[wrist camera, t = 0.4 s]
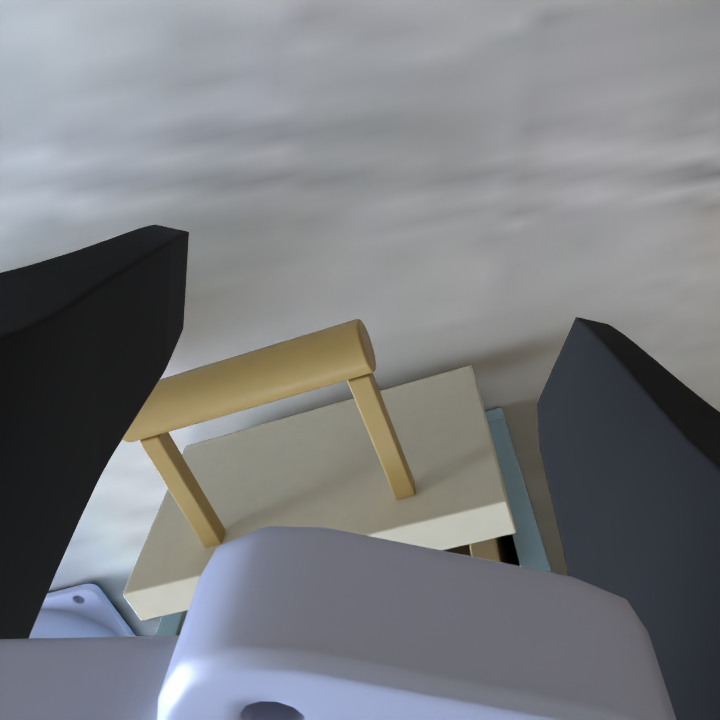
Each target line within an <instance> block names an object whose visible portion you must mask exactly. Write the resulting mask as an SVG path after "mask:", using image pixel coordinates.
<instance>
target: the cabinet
mask: <svg viewBox="0 0 720 720" xmlns="http://www.w3.org/2000/svg"><path fill="white" fill-rule="evenodd" d="M485 414H486V418H487V422H488V426H489V429H490V433H491V437H492V441H493V445H494V448H495V452H496V456H497V460H498V463H499V467H500V471H501V475H502V479H503V482H504V486H505V490H506V494H507V498H508V501H509V505H510V509H511V513H512V516H513V520H514V524H515V528H516V533H514V534H510V535H505V537H506V540H507V543H508V547H509V550H510V553H511V556H512V559H513V562H514V565H517V566H522V567H527V568H532V569H537V570H542V571H547V572H552V571H551V568H550V564H549V561H548V558H547V555H546V551H545V548H544V545H543V542H542V538H541V535H540V532H539V529H538V525H537V522H536V519H535V516H534V512H533V509H532V506H531V503H530V499H529V496H528V493H527V490H526V486H525V483H524V480H523V477H522V473H521V470H520V467H519V464H518V460H517V457H516V454H515V451H514V447H513V444H512V441H511V438H510V434H509V431H508V428H507V425H506V421H505V418H504V415H503V412H502V409H501V408H497V409H493V410H490V411H486V412H485ZM187 612H188V610H186V611H181V612H177V613H173V614H169V615H164V616H162V618H161V621H160V624H159V626H158V629H157V632H156V635H155V636H170V635H180V633H181V630H182V627H183V624H184V621H185V618H186V615H187Z"/></svg>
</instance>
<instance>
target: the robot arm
mask: <svg viewBox="0 0 720 720" xmlns="http://www.w3.org/2000/svg"><path fill="white" fill-rule="evenodd" d="M188 238H189V232H186V231H182V230H177V229H172V228H168V227H163V226H159V225H151V226H147V227H143V228H140V229H137V230H134V231H131V232H128V233H125V234H122V235H120V236H117V237H114V238H111V239H109V240H106V241H103V242H100V243H97V244H95V245H92V246H89V247H86V248H83V249H81V250H78V251H75V252H72V253H69V254H65V255H62V256H59V257H55V258H52V259H49V260H46V261H42V262H39V263H36V264H33V265H29V266H26V267H22V268H18V269H15V270H11V271H6V272H2V273H0V720H720V412H719V411H717V410H716V409H715V408H713V407H712V406H711V405H709V404H708V403H707V402H705V401H704V400H703V399H702V398H700V397H699V396H698V395H697V394H695V393H694V392H693V391H692V390H690V389H689V388H688V387H687V386H685V385H684V384H683V383H682V382H681V381H679V380H678V379H677V378H676V377H675V376H673V375H672V374H671V373H670V372H669V371H667V370H666V369H665V368H664V367H663V366H661V365H660V364H659V363H658V362H657V361H656V360H654V359H653V358H652V357H651V356H650V355H648V354H647V353H646V352H645V351H644V350H642V349H641V348H640V347H639V346H638V345H636V344H635V343H634V342H633V341H631V340H630V339H629V338H628V337H626V336H625V335H624V334H622V333H621V332H619V331H618V330H617V329H615V328H613V327H612V326H610V325H608V324H605V323H600V322H595V321H591V320H586V319H582V318H577V317H576V318H575V321H574V323H573V325H572V327H571V330H570V332H569V334H568V336H567V338H566V341H565V343H564V345H563V347H562V349H561V352H560V354H559V356H558V358H557V360H556V363H555V365H554V367H553V369H552V371H551V374H550V376H549V378H548V380H547V382H546V385H545V387H544V389H543V391H542V394H541V396H540V398H539V400H538V402H537V414H538V432H539V443H540V451H541V455H542V460H543V464H544V469H545V473H546V478H547V482H548V486H549V491H550V495H551V499H552V503H553V507H554V512H555V516H556V520H557V524H558V529H559V533H560V537H561V541H562V545H563V550H564V556H565V561H566V567H567V574H568V576H567V575H562V574H557V573H552V572H547V571H542V570H537V569H532V568H527V567H522V566H517V565H512V564H507V563H502V562H497V561H492V560H487V559H482V558H477V557H472V556H467V555H462V554H457V553H452V552H447V551H442V550H437V549H432V548H427V547H422V546H417V545H412V544H407V543H402V542H397V541H392V540H387V539H382V538H377V537H372V536H367V535H362V534H357V533H352V532H347V531H342V530H337V529H332V528H327V527H295V526H268V527H263V528H260V529H258V530H256V531H253V532H251V533H249V534H246V535H244V536H242V537H239V538H237V539H235V540H232V541H230V542H228V543H225V544H223V545H221V546H218V547H217V548H216V550H215V552H214V554H213V555H212V557H211V559H210V561H209V562H208V564H207V566H206V568H205V569H204V571H203V573H202V574H201V576H200V578H199V580H198V583H197V586H196V589H195V591H194V594H193V597H192V600H191V603H190V606H189V609H188V612H187V615H186V618H185V621H184V624H183V627H182V630H181V633H180V635H170V636H135V634H134V633H133V632H132V630H131V629H130V628H129V626H128V625H127V624H126V622H125V621H124V620H123V618H122V617H121V616H120V614H119V613H118V612H117V610H116V609H115V608H114V606H113V605H112V604H111V602H110V601H109V600H108V598H107V597H106V596H105V594H104V593H103V592H102V590H101V589H100V588H99V587H98V586H97V585H95V584H83V585H79V586H75V587H71V588H67V589H63V590H59V591H55V592H51V593H48V590H49V588H50V586H51V583H52V581H53V578H54V576H55V574H56V571H57V569H58V567H59V565H60V562H61V560H62V558H63V556H64V553H65V551H66V549H67V547H68V544H69V542H70V540H71V538H72V535H73V533H74V531H75V529H76V526H77V524H78V522H79V520H80V518H81V516H82V513H83V511H84V509H85V507H86V505H87V503H88V501H89V499H90V497H91V494H92V492H93V490H94V488H95V486H96V484H97V482H98V480H99V478H100V476H101V474H102V472H103V470H104V468H105V467H106V465H107V463H108V461H109V459H110V458H111V456H112V454H113V453H114V451H115V450H116V448H117V446H118V445H119V443H120V442H121V440H122V438H123V437H124V435H125V434H126V432H127V431H128V429H129V427H130V426H131V424H132V423H133V421H134V419H135V418H136V416H137V415H138V413H139V411H140V410H141V408H142V407H143V405H144V404H145V402H146V400H147V399H148V397H149V396H150V394H151V392H152V391H153V389H154V387H155V386H156V384H157V383H158V381H159V379H160V378H161V376H162V374H163V373H164V371H165V369H166V367H167V365H168V363H169V360H170V358H171V356H172V354H173V351H174V349H175V347H176V344H177V342H178V339H179V337H180V335H181V332H182V330H183V322H184V305H185V288H186V271H187V254H188Z"/></svg>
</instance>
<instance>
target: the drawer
mask: <svg viewBox="0 0 720 720" xmlns="http://www.w3.org/2000/svg"><path fill="white" fill-rule="evenodd" d="M375 369H376V361H375V355H374V351H373V347H372V344H371V340H370V337H369V335H368V332H367V330H366V327H365V325H364V324H363V322H362V321H361V320H359V319H356V320H353V321H350V322H346V323H343V324H340V325H337V326H333V327H330V328H327V329H323V330H320V331H317V332H314V333H310V334H307V335H304V336H301V337H297V338H294V339H291V340H288V341H284V342H281V343H278V344H274V345H271V346H268V347H265V348H261V349H258V350H255V351H252V352H248V353H245V354H242V355H238V356H235V357H232V358H229V359H225V360H222V361H219V362H216V363H212V364H209V365H206V366H203V367H199V368H196V369H193V370H189V371H186V372H183V373H180V374H176V375H173V376H170V377H167V378H163V379H160V380H159V381H158V383H157V384H156V386H155V387H154V389H153V391H152V392H151V394H150V396H149V397H148V399H147V400H146V402H145V404H144V405H143V407H142V408H141V410H140V411H139V413H138V415H137V416H136V418H135V419H134V421H133V423H132V424H131V426H130V427H129V429H128V431H127V432H126V434H125V435H124V437H123V438H122V440H124V441H126V442H135V441H138V440H141V441H140V444H141V446H142V447H143V449H144V450H145V452H146V454H147V455H148V457H149V459H150V460H151V462H152V463H153V465H154V467H155V468H156V470H157V471H158V473H159V475H160V476H161V478H162V480H163V481H164V483H165V484H166V486H167V488H168V489H167V491H166V494H165V496H164V498H163V501H162V503H161V505H160V508H159V510H158V512H157V515H156V517H155V519H154V522H153V524H152V526H151V529H150V531H149V533H148V536H147V538H146V540H145V543H144V545H143V547H142V550H141V552H140V554H139V557H138V559H137V561H136V564H135V566H134V568H133V571H132V573H131V575H130V578H129V580H128V583H127V585H126V587H125V590H124V592H123V596H124V598H125V599H126V600H127V602H128V603H129V605H130V606H131V607H132V609H133V610H134V611H135V613H136V614H137V616H138V617H139V618H140V620H142V621H143V620H147V619H152V618H156V617H160V616H164V615H169V614H173V613H177V612H181V611H186V610H188V609H189V606H190V603H191V600H192V597H193V594H194V591H195V589H196V586H197V583H198V580H199V578H200V576H201V574H202V573H203V571H204V569H205V568H206V566H207V564H208V562H209V561H210V559H211V557H212V555H213V554H214V552H215V550H216V548H217V547H218V546H221V545H223V544H225V543H228V542H230V541H232V540H235V539H237V538H239V537H242V536H244V535H246V534H249V533H251V532H253V531H256V530H258V529H260V528H263V527H268V526H295V527H327V528H332V529H337V530H342V531H347V532H352V533H357V534H362V535H367V536H372V537H377V538H382V539H387V540H392V541H397V542H402V543H407V544H412V545H417V546H422V547H427V548H432V549H437V550H442V551H447V552H452V553H457V554H462V555H467V556H472V557H477V558H482V559H487V560H492V561H497V562H502V563H507V564H512V565H514V562H513V559H512V556H511V553H510V550H509V547H508V543H507V540H506V537H505V535H510V534H514V533H516V528H515V524H514V520H513V516H512V513H511V509H510V505H509V501H508V498H507V494H506V490H505V486H504V482H503V479H502V475H501V471H500V467H499V463H498V460H497V456H496V452H495V448H494V445H493V441H492V437H491V433H490V429H489V426H488V422H487V418H486V414H485V411H484V407H483V403H482V399H481V395H480V392H479V388H478V385H477V382H476V378H475V375H474V372H473V369H472V366H471V365H470V366H466V367H463V368H459V369H456V370H452V371H449V372H445V373H442V374H438V375H435V376H431V377H427V378H424V379H420V380H417V381H413V382H410V383H406V384H403V385H399V386H396V387H392V388H389V389H385V390H382V391H379V388H378V386H377V383H376V381H375V378H374V375H373V372H374V371H375ZM345 380H348V385H349V387H350V389H351V392H352V394H353V397H354V398H353V399H350V400H346V401H343V402H339V403H336V404H332V405H329V406H325V407H322V408H318V409H315V410H311V411H308V412H304V413H301V414H297V415H294V416H290V417H286V418H283V419H279V420H276V421H272V422H269V423H265V424H262V425H258V426H255V427H251V428H248V429H244V430H241V431H237V432H234V433H230V434H227V435H223V436H220V437H216V438H212V439H209V440H205V441H202V442H198V443H195V444H191V445H188V446H186V447H185V449H184V452H183V454H182V455H181V453H180V452H179V450H178V448H177V446H176V445H175V443H174V441H173V440H172V438H171V436H170V434H169V433H168V432H169V431H173V430H176V429H180V428H183V427H186V426H190V425H193V424H197V423H200V422H204V421H207V420H211V419H214V418H218V417H221V416H224V415H228V414H231V413H235V412H238V411H242V410H245V409H249V408H252V407H256V406H259V405H262V404H266V403H269V402H273V401H276V400H280V399H283V398H287V397H290V396H294V395H297V394H300V393H304V392H307V391H311V390H314V389H318V388H321V387H325V386H328V385H332V384H335V383H338V382H342V381H345Z"/></svg>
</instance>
